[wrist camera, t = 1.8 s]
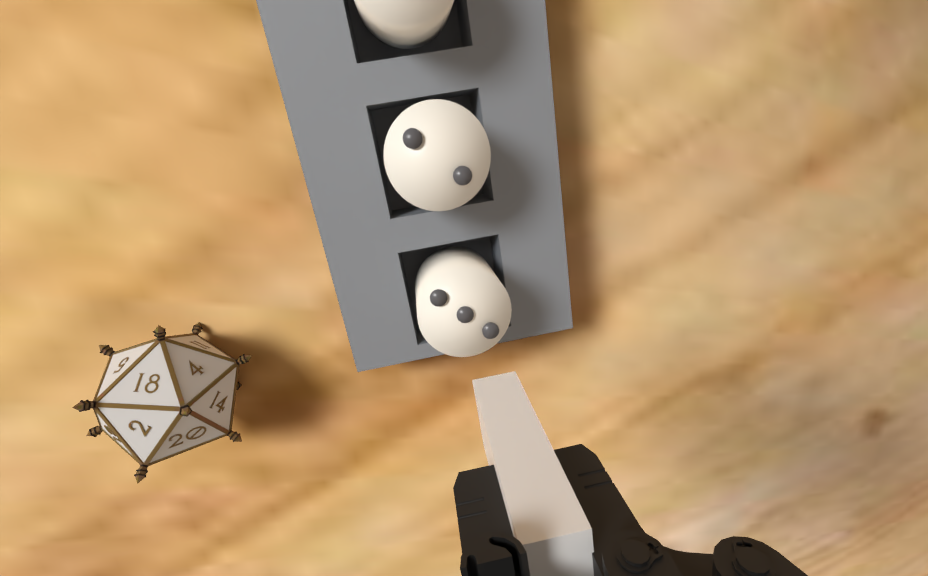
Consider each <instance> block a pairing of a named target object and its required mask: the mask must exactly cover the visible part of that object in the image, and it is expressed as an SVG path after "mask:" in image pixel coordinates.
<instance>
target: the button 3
mask: <svg viewBox="0 0 928 576" xmlns="http://www.w3.org/2000/svg"><path fill="white" fill-rule="evenodd" d="M415 293H416V307H417V320H418V325H419V329H420V331H421V333H422V335H423V337H424V338H425V340H426V341H427V342H428V343H429V344H430V345H431V346H432V347H433V348H435V349H436V350H438V351H440V352H442V353H444V354H447V355H450V356H454V357H469V356H474V355H478V354H481V353H483V352H485V351H487V350H489V349H490V348H492V347H493V346H494V345H495V344H497V343H498V342H499V341H500V339H501V338H502V337H503V335H504V334H505V332H506V331H507V329H508V326H509V323H510V320H511V312H512V309H511V301H510V298H509V295H508V293H507V291H506V289H505V287H504V286H503V285H502V283H501V282H500V280H499V279H498V277H497V276H496V275H495V273H494V272H493V270H492V269H491V267H490V266H489V264H488V263H487V262H486V260H485V259H484V258H483V257H482V256H481V255H479V254H478V253H476V252H475V251H473V250H471V249H468V248H464V247H447V248H443V249H441V250H438V251H436V252H434V253H433V254H431V255H430V256H429V257H428V258H427V259H426V260H425V261H424V262H423V263H422V265H421V266H420V268H419V270H418V272H417V276H416V280H415Z"/></svg>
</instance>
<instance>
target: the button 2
mask: <svg viewBox="0 0 928 576" xmlns="http://www.w3.org/2000/svg"><path fill="white" fill-rule="evenodd" d="M490 162H491V151H490V144H489V140H488V137H487V134H486V132H485V130H484V128H483V126H482V125H481V123H480V121H479V120H478V119H477V118H476V117H475V116H474V115H473V114H472V113H471V112H470V111H469V110H467V109H466V108H464V107H463V106H461V105H459V104H457V103H454V102H451V101H447V100H442V99H432V100H425V101H421V102H418V103H416V104H414V105H412V106H410V107H408V108H407V109H406V110H404V111H403V112H402V113H401V114H400V115H399V116H398V117H397V118H396V119H395V121H394V122H393V123H392V125H391V127H390V129H389V131H388V133H387V136H386V139H385V144H384V165H385V169H386V173H387V176H388V178H389V180H390V182H391V184H392V186H393V187H394V188H395V190H396V191H397V192H398V193H399V194H400V195H401V197H402V198H404V199H405V200H406V201H408V202H409V203H411V204H412V205H414V206H416V207H419V208H421V209H425V210H429V211H447V210H451V209H455V208H457V207H460V206H462V205H463V204H465V203H467V202H468V201H469V200H471V199H472V198H473V197H474V196H475V195H476V194H477V193H478V192H479V190H480V189H481V187H482V186H483V184H484V182H485V180H486V178H487V175H488V172H489V168H490Z"/></svg>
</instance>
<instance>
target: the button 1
mask: <svg viewBox="0 0 928 576" xmlns="http://www.w3.org/2000/svg"><path fill="white" fill-rule="evenodd" d="M354 2H355V5H356V8H357V10H358V13H359V15H360V17H361V19H362V21H363V23H364V24H365V26H366V27H367V29H368V30H369V31H370V32H371V33H372V34H373V35H374V36H375V37H376V38H378V39H379V40H380V41H382V42H384V43H385V44H387V45H390V46H392V47H396V48H401V49H412V48H417V47H420V46H423V45H425V44H427V43H429V42H430V41H432V40H433V39H434V38H435V37H436V36H437V35H438V34H439V33H440V32H441V30H442V29H443V28H444V26H445V24H446V22H447V19H448V17H449V14H450V11H451V8H452V5H453V2H454V0H354Z"/></svg>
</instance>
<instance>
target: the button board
mask: <svg viewBox="0 0 928 576" xmlns="http://www.w3.org/2000/svg"><path fill="white" fill-rule="evenodd" d="M256 1H257V5H258V9H259V12H260V16H261V20H262V23H263V27H264V31H265V34H266V38H267V42H268V45H269V49H270V53H271V56H272V60H273V64H274V67H275V71H276V75H277V78H278V82H279V86H280V89H281V93H282V97H283V100H284V104H285V108H286V111H287V115H288V119H289V122H290V126H291V129H292V133H293V137H294V140H295V144H296V148H297V151H298V155H299V159H300V162H301V166H302V170H303V173H304V177H305V181H306V184H307V188H308V192H309V195H310V199H311V203H312V206H313V210H314V214H315V217H316V221H317V225H318V228H319V232H320V236H321V239H322V243H323V247H324V250H325V254H326V258H327V261H328V265H329V269H330V272H331V276H332V280H333V283H334V287H335V291H336V294H337V298H338V302H339V305H340V309H341V313H342V316H343V320H344V324H345V327H346V331H347V335H348V338H349V342H350V346H351V349H352V353H353V357H354V360H355V364H356V368H357V371H358V372H360V371H365V370H370V369H375V368H380V367H385V366H390V365H395V364H399V363H404V362H409V361H414V360H419V359H424V358H429V357H434V356H439V355H443V354H444V353H442V352H440V351H438V350H436V349H435V348H433V347H432V346H431V345H430V344H429V343H428V342H427V341H426V340H425V338H424V337H423V335H422V333H421V331H420V329H419V325H418V320H417V307H416V293H415V280H416V276H417V272H418V270H419V268H420V266H421V265H422V263H423V262H424V261H425V260H426V259H427V258H428V257H429V256H430V255H431V254H433V253H434V252H436V251H438V250H441V249H443V248H447V247H464V248H468V249H471V250H473V251H475V252H476V253H478V254H479V255H481V256H482V257H483V258H484V259H485V260H486V262H487V263H488V264H489V266H490V267H491V269H492V270H493V272H494V273H495V275H496V276H497V277H498V279H499V280H500V282H501V283H502V285H503V286H504V287H505V289H506V291H507V293H508V295H509V298H510V301H511V309H512V312H511V320H510V323H509V326H508V329H507V331H506V332H505V334H504V335H503V337H502V338H501V339H500V341H499V342H498V343H502V342H507V341H512V340H517V339H522V338H527V337H531V336H536V335H541V334H546V333H551V332H556V331H561V330H566V329H571V328H573V324H572V312H571V300H570V288H569V277H568V265H567V253H566V241H565V230H564V218H563V206H562V194H561V183H560V171H559V159H558V147H557V136H556V124H555V112H554V100H553V89H552V77H551V65H550V53H549V42H548V30H547V18H546V6H545V0H454V2H453V5H452V8H451V11H450V14H449V17H448V19H447V22H446V24H445V26H444V28H443V29H442V30H441V32H440V33H439V34H438V35H437V36H436V37H435V38H434V39H433V40H432V41H430V42H429V43H427V44H425V45H423V46H420V47H417V48H412V49H401V48H396V47H392V46H390V45H387V44H385V43H384V42H382V41H380V40H379V39H378V38H376V37H375V36H374V35H373V34H372V33H371V32H370V31H369V30H368V29H367V27H366V26H365V24H364V23H363V21H362V19H361V17H360V15H359V13H358V10H357V8H356V5H355V2H354V0H256ZM432 99H442V100H447V101H451V102H454V103H457V104H459V105H461V106H463V107H464V108H466V109H467V110H469V111H470V112H471V113H472V114H473V115H474V116H475V117H476V118H477V119H478V120H479V121H480V123H481V125H482V126H483V128H484V130H485V132H486V134H487V137H488V140H489V144H490V151H491V162H490V168H489V172H488V175H487V178H486V180H485V182H484V184H483V186H482V187H481V189H480V190H479V192H478V193H477V194H476V195H475V196H474V197H473V198H472V199H471V200H469V201H468V202H467V203H465V204H463V205H462V206H460V207H457V208H455V209H451V210H447V211H429V210H425V209H421V208H419V207H416V206H414V205H412V204H411V203H409V202H408V201H406V200H405V199H404V198H402V197H401V195H400V194H399V193H398V192H397V191H396V190H395V188H394V187H393V186H392V184H391V182H390V180H389V178H388V176H387V173H386V169H385V165H384V144H385V139H386V136H387V133H388V131H389V129H390V127H391V125H392V123H393V122H394V121H395V119H396V118H397V117H398V116H399V115H400V114H401V113H402V112H403V111H404V110H406V109H407V108H408V107H410V106H412V105H414V104H416V103H418V102H421V101H425V100H432Z"/></svg>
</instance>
